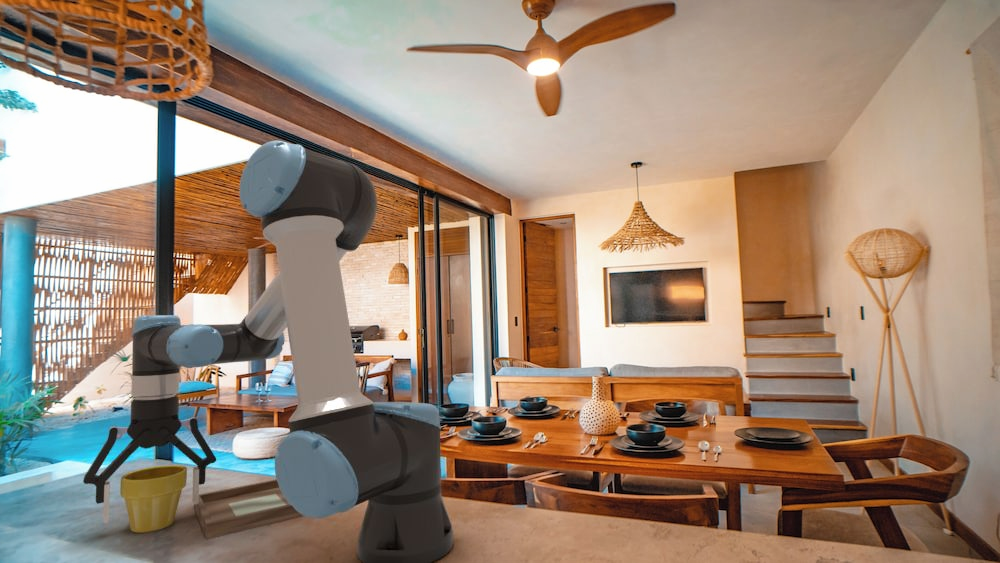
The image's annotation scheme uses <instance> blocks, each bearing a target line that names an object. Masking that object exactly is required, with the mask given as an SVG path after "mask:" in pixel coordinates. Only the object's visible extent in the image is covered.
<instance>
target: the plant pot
mask: <svg viewBox="0 0 1000 563" xmlns="http://www.w3.org/2000/svg"><path fill="white" fill-rule="evenodd" d="M187 476H188V468H187V467H186V466H185V465H180V464H171V465H170V464H168V465H157V466H150V467H146V468H140V469H136V470H134V471H129V472H127V473H125V474H124V475H122V476H121V478H120V486H119V487H120V497H122V498H124V502H125V505H126V511H127V516H128V520H129V521H128V522H129V527H130V531H131V532H134V533H149V532H155V531H158V530H162V529H164V528H167V527H169V526H171V525H172V524H174V522H175V517H176V514H177V510H178V506H179V501H180V498H181V495H182V491H183V489H184V488H186V485H187V481H188V480H187Z"/></svg>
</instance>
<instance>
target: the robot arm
mask: <svg viewBox="0 0 1000 563" xmlns="http://www.w3.org/2000/svg"><path fill="white" fill-rule="evenodd" d="M238 189H239V190H238V192H239V193H238V194H239V200H240V204H241V206H242V207H243V209H244V210H245V211H246V212H247V213H248V214H250V215H251V216H253V217H255V218H260V222H261V228H262V234H263V238H265V239H266V240H267V241H268V242H270V243H271V244H273V245H274V246H275V248H276V255H277V264H278V272H277V274H276V275H275V276H274V278H273V279H272V280H271V281H270V283H269V284H268V286H267V288H266V289H265V290H264V291H263V293H262V294H261V296H259V298H258V299H257V301H256V302H255V304H254V305H253V306H252V308H251V309H250V310H249V312H248V313H247V314H246V316H244V318H243V319H241V322H240V323H227V324H224V323H223V324H201V323H200V324H199V323H198V324H197V323H196V324H192V323H191V324H183V325H182V324H181V323H182V322H181V318H180V317H179V315H174V314H173V315H171V314H168V315H166V314H165V315H164V314H163V315H159V314H157V315H156V314H155V315H139V316H138V317H136V318H134V322H133V329H132V330H133V332H132V333H131V334H132V335H131V338H132V359H131V360H132V361H131V362H132V364H131V366H132V369H131V372H132V373H131V392H130V394H131V396H132V397H133V398H134V399H132V401H131V402H130V423H129V425H128V426H117V425H112V426H110V427H109V432H108V435H107V439H106V441H105V442H104V444H103V446H102V447H101V449H100V450H99V452H98V454H97V456H96V457H95V459H94V460H93V462H92V464H91V465H90V467H89V469H88V470H87V472H86V473H85V475H84V477H83V481H82V482H83V484H85V485H88V484H89V485H94V486H95V503H96V504H97V505H98V504H103V514H102V515H103V516H102V517H103V520H102V523H103V524H106V523H109V518H110V494H111V493H110V492H111V491H110V490H111V489H110V488H111V481H110V480H109V479H110V478H111V477H112V476H113V474H115V472H116V471H117V470H118V469H119V468H120V467H121V466H122V465H123V463H125V462H126V461H127V460H128V459H129V457H130V456H131V455H133V454H134V453H135V452H136V451H137V450H138V449H139V448H143V449H144V450H146V449H151V448H153V447H165V445H168V444H169V443H170V444H172V445H173V446H174V447H175V448H176V449H178V450H179V451H180V453H182V454H183V455H185V457H187V458H188V459H189V460H190V461H191V462H192V463H194V464H195V465H196V466H193V467H192V496H191V497H192V504H193V506H194V505H195V504H198V503H199V494H200V492H199V490H200V488H199V487H200V485H205V482H206V471H207V470H206V469H207V467H208V466H209V465H210V464H214V463H216V462H217V458H216V456H215V453H214V452H213V450H212V449H211V448H210V446H209V444H208V443H207V441H206V440H205V437H204V436H203V435H202V433H201V431H200V430H199V424H198V419H197V418H196V417H195V416H191V417H189V418H187V419H183V420H180V417H179V409H180V408H179V406H180V405H179V403H180V398H179V396H178V395H176V394H179V392H180V367H184V368H187V369H192V368H203V367H207V366H211V365H217V364H218V365H219V364H228V363H229V364H231V363H241V362H261V361H264V360H270V359H274V358H276V357H278V356H279V355H280V354H281V353H282V351H283V346H284V345H285V335H284V334H285V333H284V331H285V330H287V334H288V336H287V337H288V342H289V350H290V357H291V363H292V364H291V365H292V369H293V370H292V371H293V378H294V385H295V390H296V392H295V393H296V398H297V407H296V409H295V411H294V412H293V413H292V414H291V416H290V417H289V418H288V427H289V433H288V435H286V436H285V437H284V438H283V439H282V440H281V441H280V443H279V444H278V447H277V452H278V453H276V454H275V455H274V473H275V478H276V479H277V482H278V485H279V488H280V490H281V492H282V494H283V496H284V497H285V499H286V500H287V502H288V503H289V504H290V505H292V506H293V507H294V508H295V510H296V511H298V512H299V513H300V514H302V515H304V517H307V518H310V519H325V518H328V517H331V516H334V515H336V514H341V513H343V514H344V513H346V512H348V511H349V510H351V509H353V508H354V507H355V506H356V507H357V506H358V505H360V504H363V503H365V502H367V501H368V502H367V506H366V508H365V513H364V515H363V518H362V523H361V527H360V529H359V531H358V532H359V533H358V537H357V541H356V543H357V547H356V548H357V551H356V552H357V553H356V554H357V557H358V559H359V561H361V562H362V563H433V562H436V561H437V560H439V559H441V558H443V557H444V556H446V555H447V554H448V553H449V552H450V551H451V550H452V548H453V545H454V534H453V533H454V531H453V530H454V529H453V525H452V523H451V520H450V516H449V514H448V511H447V508H446V504H445V502H444V499H443V496H442V471H441V468H442V467H441V464H442V463H441V461H442V460H441V459H442V458H441V431H442V426H441V423H440V413H439V412H440V411H439V409H438V408H437V407H436V406H435V405H434V404H432V403H427V402H426V403H424V402H410V401H409V402H407V401H406V402H405V401H377V402H376V401H374V402H373V400H371V399H370V398H368V397H367V396H365V395H364V394H363V393H362V392H361V387H360V383H359V382H360V381H359V375H358V369H357V362H356V357H355V352H354V345H353V339H352V333H351V327H350V321H349V320H350V319H349V314H348V313H349V312H348V308H347V301H346V296H345V290H344V283H343V282H344V281H343V277H342V272H341V271H342V270H341V264H340V262H341V260H342V259H343V257H345V255H346V253H349V252H355V251H356V250H357V249H358V248H359V247H360V246H361V244H362V243H363V242H364V240H365V239H366V237H367V236H368V235H369V233H370V231H371V229H372V227H373V225H374V222H375V220H376V214H377V210H378V197H377V192H376V189H375V186H374V182H372V180H371V178H370V177H369V176H368V174H367V173H366V172H365V171H363V170H362V169H361V168H360V167H359V166H357V165H355V164H353V163H350V162H348V161H346V160H340V159H338V158H335V157H332V156H328V155H325V154H322V153H320V152H315V151H312V150H309V149H307V148H305V147H304V146H303V145H301V144H299V143H296V144H295V143H294V144H293V143H289V142H286V141H283V140H271V141H268V142H265V143H263V144H262V145H261V146H259V147H258V148H257V149H256V150H255V151H254V152H253V153H252V154H251V156H249V159H248V160H247V163H246V164H245V166H244V168H243V170H242V174H241V178H240V180H239V188H238ZM182 427H184V428H185V430H187V431H190V432H191V434H192V435H193V437H194V438H195V440H196V442H197V444H198V445H199V447H200V449H201V450H202V452H203V453H204V455H205V457H204V458H202V457H201V456H200V455H198V454H197V453H196V452H195V451H194V450H193V449H192V448H190V446H188V445H187V444H186V443H185V442H184V441H182V440H181V438H180V437H179V436H177V433H178V431H180V429H181V428H182ZM125 434H127V435H128V436H129V437H130V438H131V440H130V442H129V443H128V444H127V446H125V448H124V449H122V451H121V452H120V453H119V454H118V455H117V457H115V459H113V461H111V463H109V465H108V466H107V467H106V468H105V469H104V470H103V471H102V472H101V473H100V474H99V475H97V473H98V471H99V470H100V468H101V466H102V465H103V463H104V462H105V461H106V458H107V457H108V455H109V454H110V452H111V451H112V449H113V447H114V445H115V443H116V441H117V440H120V439H122V438H123V436H124V435H125ZM276 479H275V480H276Z"/></svg>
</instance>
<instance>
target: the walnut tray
mask: <svg viewBox="0 0 1000 563" xmlns="http://www.w3.org/2000/svg"><path fill="white" fill-rule="evenodd" d="M193 510H194V512H195V515H196V517H197V519H198V521H199V524H200V526H201V529H202V530H203V533H204V537H205V538H206V540H209V539H212V538H216V537H220V536H225V535H228V534H233V533H237V532H242V531H245V530H251V529H253V528H257V527H258V528H259V527H262V526H266V525H270V524H273V523H274V524H275V523H278V522H283V521H286V520H291V519H295V518H298V517H303V516H304V515H302V514H300V513H299V512H298V511H296V510H295V508H294V507H293V506H292V505H290V504H289V503H288V502H287V500H286V499H285V497H284V496H283V494H282V492H281V490H280V488H279V485H278V482H277V479H272V480H268V481H267V480H266V481H261V482H256V483H250V484H246V485H240V486H236V487H230V488H225V489H220V490H215V491H211V492H206V493H199V503H198V504H195V505H194V504H193ZM304 517H305V516H304Z"/></svg>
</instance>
